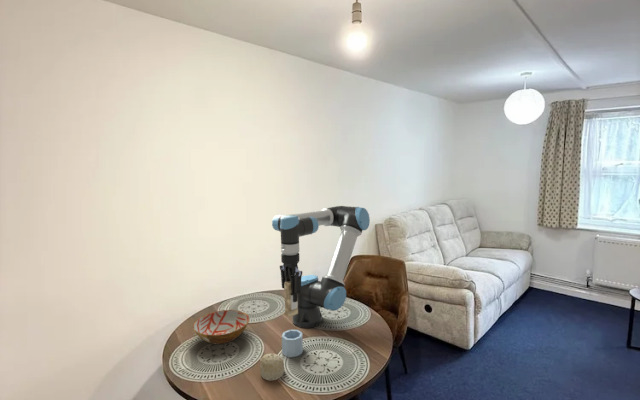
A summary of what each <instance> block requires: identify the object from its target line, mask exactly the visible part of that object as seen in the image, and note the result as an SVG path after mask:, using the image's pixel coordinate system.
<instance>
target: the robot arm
mask: <svg viewBox="0 0 640 400" xmlns="http://www.w3.org/2000/svg"><path fill="white" fill-rule="evenodd" d="M370 219H371V218H370V213H369V211H368V210H367V209H366V208H364V207H360V206H347V205H346V206H345V205H337V206H331V207H325V208H323V209H321V210H317V211H309V212H308V211H307V212H302V213H294V214H287V215H285V214H284V215H283V214H277V215H275V216H274V217H273V218H272V221H271V224H272V225H271V226H272V228H273V229H274V230H275V231H276V232H277V231H278V232H280V243H281V244H280V250H281V251H280V252H281V255H280V257H281V263H282V264H281V265H279V270H280V280H281V281H280V282H281V288H282V289H284V282H288V281H291V290H292V293H291V310H293V309H296V308H297V294H298V314H296V315H293V316H292V323H293V325H294V326H297V327H299V328H305V329H306V328H313V327H317V326H319V325H320V324H322V322H323V314H322V311H321V309H320V308H324V309H325V310H330V311H334V312H335V311H338V310H339V309H341V308H342V307H343V305H344V303H345V302H346V300H347V290H346V288H345V286H346V284H345V282H344V278H345V276H346V273H347V269H348V266H349V263H350V261H351V258H352V255H353V251H354V248H355V245H356V241H357V239H358V237H360V236H361V235H362V233H363V231H366V230H368V229H369V226H370V223H371V222H370ZM320 226H324V227H329V226H331V227H337V228H339V229H340V232H341V233H340V235H339V238H338V241H337V243H336V247H335V250H334V252H333V255H332V258H331V261H330V264H329V267H328V268H327V269H328V270H327V272H326V275H324V276H322V278H321V280H319V277H318V275H315V274H306V275H303V270H299V266H298V264H299V263H300V253H299V252H300V237H304V236H308V235H312V234H315V233H317V232H318V230H319V227H320ZM302 275H303V276H302ZM284 291H285V289H284Z"/></svg>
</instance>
